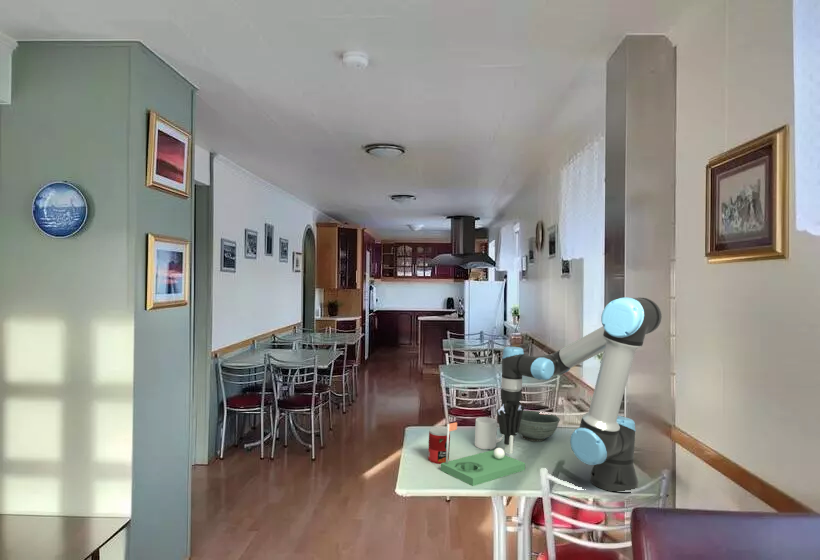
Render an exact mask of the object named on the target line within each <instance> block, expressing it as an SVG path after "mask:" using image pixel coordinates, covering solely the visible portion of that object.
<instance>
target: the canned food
mask: <svg viewBox="0 0 820 560" xmlns="http://www.w3.org/2000/svg"><path fill="white" fill-rule="evenodd" d="M450 438H451V431H449V448H448V461H450V445H451V444H450V443H451V439H450ZM446 448H447V428H444V427H431V428H430V429H429V431H428V451H427V452H428V453H427V455H428V456H427V458H428V461H429V462H430V463H432V464H437V465H441V463H444V462H446Z"/></svg>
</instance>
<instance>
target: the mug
mask: <svg viewBox="0 0 820 560" xmlns="http://www.w3.org/2000/svg"><path fill="white" fill-rule="evenodd" d="M474 429H475V430H474V446H475V447H476V448H477V449H481V450H485V449H490V450H495V449H496V448H497V444H498V443H500V442H501V441H502V440H504V435H503V434H501V435H502V436H500V437H499V438H497V437H498V436H497V434H498V429H500V427H499V422H498V420H497V419H495V418H493V417H487V416H483V417H482V416H481V417H477V418H475V428H474Z"/></svg>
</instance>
